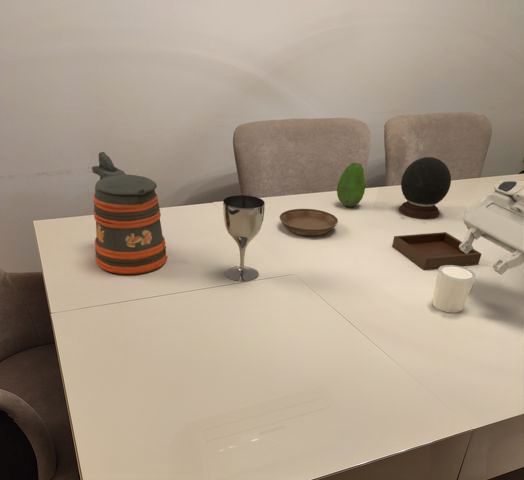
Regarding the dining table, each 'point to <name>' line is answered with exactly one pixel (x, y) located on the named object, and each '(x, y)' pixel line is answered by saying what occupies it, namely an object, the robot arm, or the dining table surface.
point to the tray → (434, 250)
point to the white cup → (452, 287)
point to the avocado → (351, 185)
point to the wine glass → (243, 229)
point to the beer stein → (126, 221)
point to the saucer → (308, 221)
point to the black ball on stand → (424, 187)
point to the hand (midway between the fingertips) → (478, 260)
